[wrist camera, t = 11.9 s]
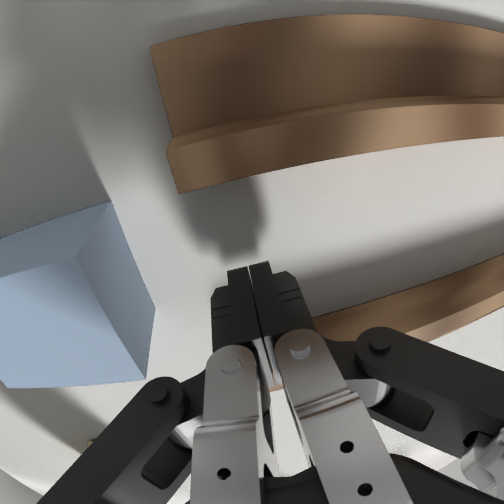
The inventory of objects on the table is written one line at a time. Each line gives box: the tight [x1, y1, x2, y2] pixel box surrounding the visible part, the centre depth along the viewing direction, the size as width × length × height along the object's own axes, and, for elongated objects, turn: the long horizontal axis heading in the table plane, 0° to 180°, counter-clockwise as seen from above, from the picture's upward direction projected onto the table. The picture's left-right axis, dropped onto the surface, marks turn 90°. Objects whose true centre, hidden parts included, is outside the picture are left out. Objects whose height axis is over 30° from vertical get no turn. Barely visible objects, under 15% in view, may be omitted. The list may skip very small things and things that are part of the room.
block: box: [0, 201, 155, 388], centre depth 10 cm, size 7×5×4 cm
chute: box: [149, 14, 504, 392], centre depth 11 cm, size 20×16×2 cm
